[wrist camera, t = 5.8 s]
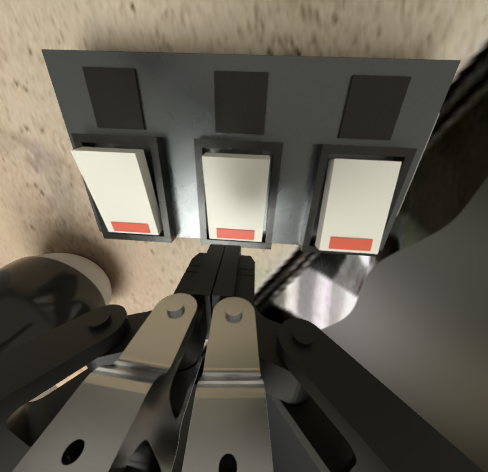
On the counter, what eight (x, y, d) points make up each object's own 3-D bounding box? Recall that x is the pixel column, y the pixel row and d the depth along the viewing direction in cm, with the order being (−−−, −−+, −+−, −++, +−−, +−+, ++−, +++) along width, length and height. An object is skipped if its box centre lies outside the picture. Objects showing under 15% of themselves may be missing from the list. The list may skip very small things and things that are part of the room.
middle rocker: (205, 152, 12) (201, 156, 11) (269, 155, 12) (270, 160, 11) (212, 231, 16) (209, 239, 15) (261, 234, 15) (261, 242, 15)
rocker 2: (328, 160, 13) (335, 158, 12) (390, 163, 13) (403, 161, 12) (314, 245, 14) (319, 250, 13) (369, 249, 14) (378, 254, 13)
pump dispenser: (102, 232, 21) (-189, 402, 7) (139, 303, 25) (0, 492, 12) (23, 242, 22) (-354, 403, 8) (71, 308, 27) (-126, 483, 13)
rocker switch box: (57, 68, 15) (-21, 39, 11) (449, 80, 14) (532, 53, 9) (102, 216, 20) (62, 235, 16) (386, 233, 19) (422, 259, 15)
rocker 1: (82, 146, 12) (68, 150, 11) (143, 149, 12) (134, 153, 11) (116, 225, 16) (108, 232, 15) (163, 227, 16) (158, 235, 15)
